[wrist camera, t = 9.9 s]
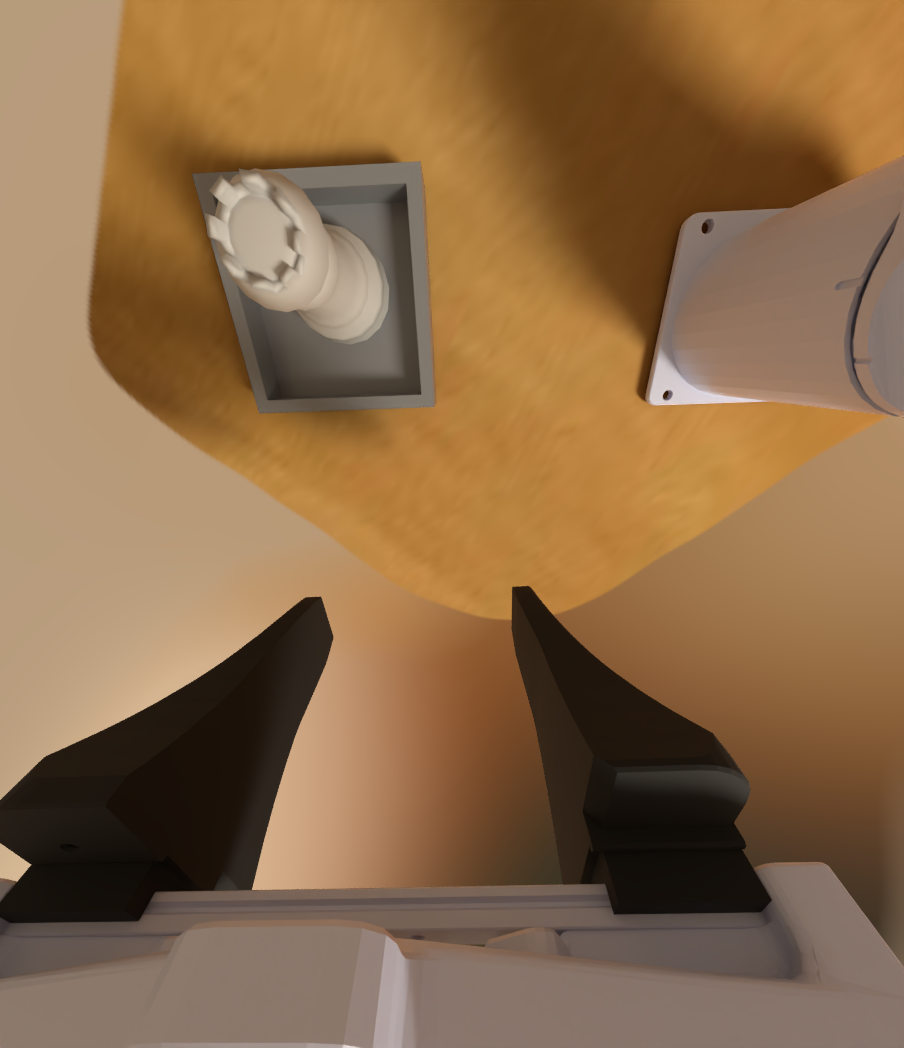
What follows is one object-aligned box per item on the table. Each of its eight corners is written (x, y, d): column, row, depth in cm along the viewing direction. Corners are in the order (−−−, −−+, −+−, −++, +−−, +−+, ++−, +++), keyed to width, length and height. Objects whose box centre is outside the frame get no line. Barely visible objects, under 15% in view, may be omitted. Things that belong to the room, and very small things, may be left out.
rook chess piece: (279, 265, 15) (125, 178, 8) (359, 211, 15) (267, 63, 7) (332, 361, 17) (245, 359, 10) (407, 318, 16) (371, 283, 9)
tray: (424, 186, 14) (420, 161, 13) (436, 402, 18) (434, 406, 17) (223, 196, 15) (191, 173, 13) (278, 408, 19) (259, 413, 17)
